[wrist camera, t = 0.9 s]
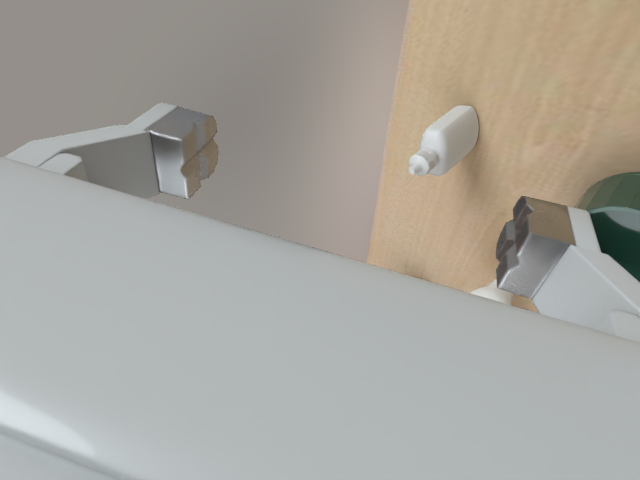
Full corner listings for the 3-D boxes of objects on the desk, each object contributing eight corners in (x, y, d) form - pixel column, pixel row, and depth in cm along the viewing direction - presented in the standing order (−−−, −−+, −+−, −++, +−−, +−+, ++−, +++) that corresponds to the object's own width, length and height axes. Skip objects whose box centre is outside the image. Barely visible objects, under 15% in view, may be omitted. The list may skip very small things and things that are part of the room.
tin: (653, 150, 40) (634, 184, 36) (739, 240, 39) (728, 284, 35) (554, 206, 49) (531, 238, 45) (622, 279, 48) (604, 318, 44)
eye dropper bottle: (440, 135, 54) (386, 177, 47) (461, 97, 49) (404, 138, 43) (469, 155, 53) (417, 201, 46) (493, 118, 48) (440, 164, 42)
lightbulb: (538, 265, 55) (501, 320, 49) (533, 300, 58) (498, 355, 52) (491, 251, 58) (452, 300, 52) (488, 284, 62) (451, 334, 56)
